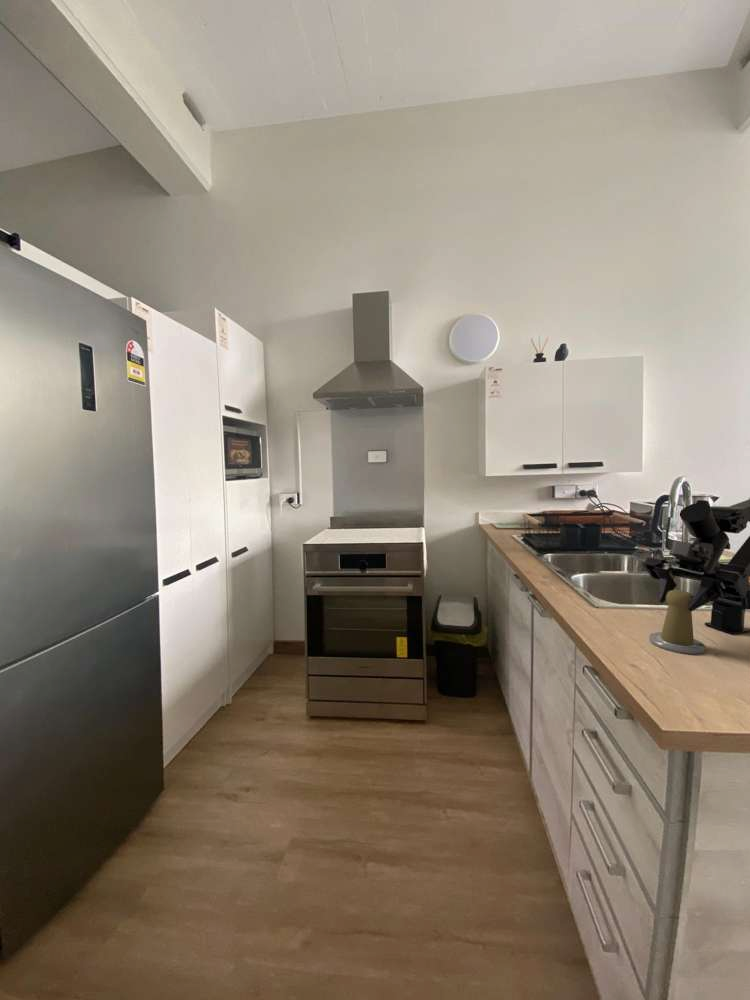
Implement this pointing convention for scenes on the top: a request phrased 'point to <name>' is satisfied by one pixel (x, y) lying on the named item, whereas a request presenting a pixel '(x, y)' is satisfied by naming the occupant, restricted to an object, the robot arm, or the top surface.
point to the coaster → (659, 642)
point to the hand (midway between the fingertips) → (674, 605)
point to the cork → (678, 619)
